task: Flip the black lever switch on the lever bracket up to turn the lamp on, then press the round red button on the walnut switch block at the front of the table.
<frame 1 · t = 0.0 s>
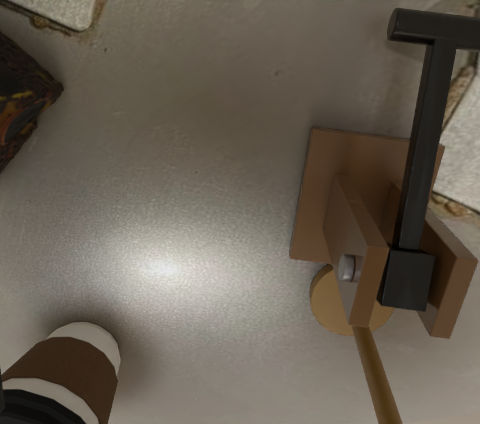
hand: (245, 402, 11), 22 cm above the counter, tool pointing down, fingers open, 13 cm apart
lever bracket: (359, 200, 32), on the counter
lamp: (350, 293, 35), on the counter
lamp switch: (420, 163, 21), point 10 cm above the counter, hinge at -15.0°
coffee cup: (87, 347, 39), on the counter
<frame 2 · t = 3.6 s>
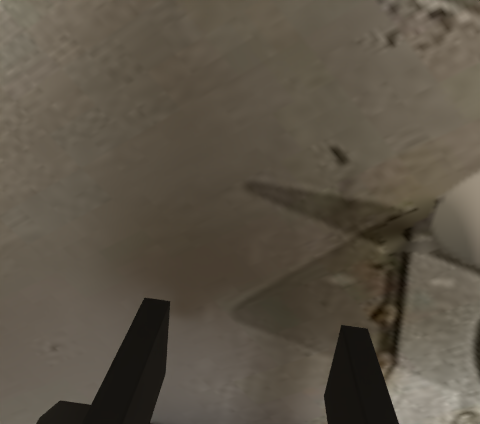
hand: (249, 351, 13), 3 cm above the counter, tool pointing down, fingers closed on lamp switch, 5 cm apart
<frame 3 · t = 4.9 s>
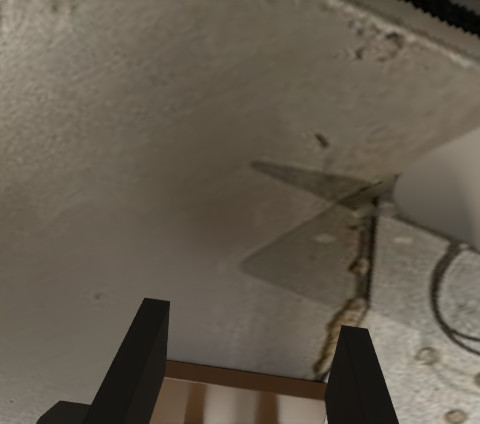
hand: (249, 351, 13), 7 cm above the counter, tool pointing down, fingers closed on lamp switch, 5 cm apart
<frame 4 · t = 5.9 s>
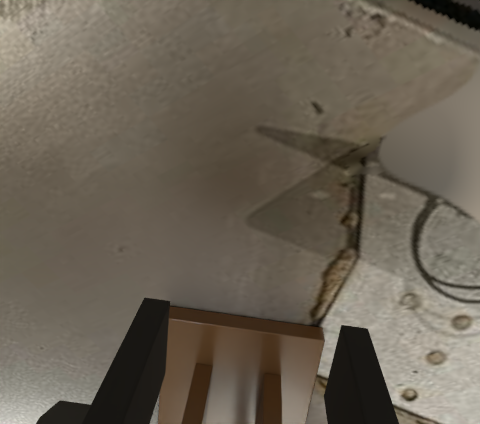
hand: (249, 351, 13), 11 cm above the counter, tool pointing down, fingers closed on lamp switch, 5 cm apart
lever bracket: (235, 383, 27), on the counter
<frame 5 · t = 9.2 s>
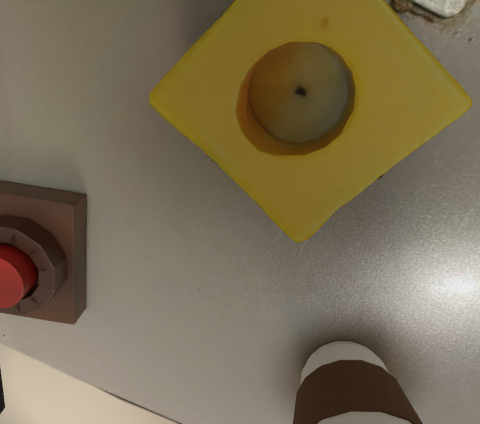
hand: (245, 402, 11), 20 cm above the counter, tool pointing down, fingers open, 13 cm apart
candle: (296, 80, 27), on the counter
switch block: (35, 246, 33), on the counter
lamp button: (1, 276, 29), point 4 cm above the counter, slide at 0.1 cm
coffee cup: (341, 368, 36), on the counter
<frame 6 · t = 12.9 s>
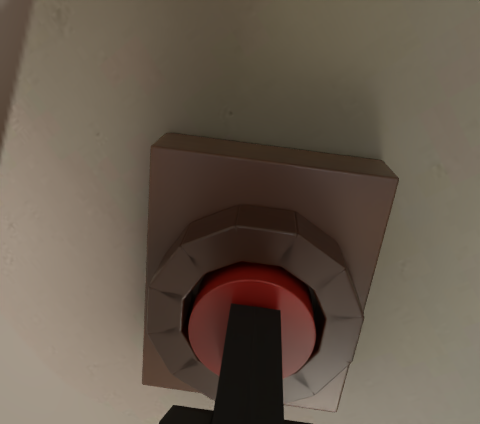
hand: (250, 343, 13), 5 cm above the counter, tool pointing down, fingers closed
switch block: (256, 265, 18), on the counter
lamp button: (252, 318, 14), point 4 cm above the counter, slide at -0.8 cm, touching gripper
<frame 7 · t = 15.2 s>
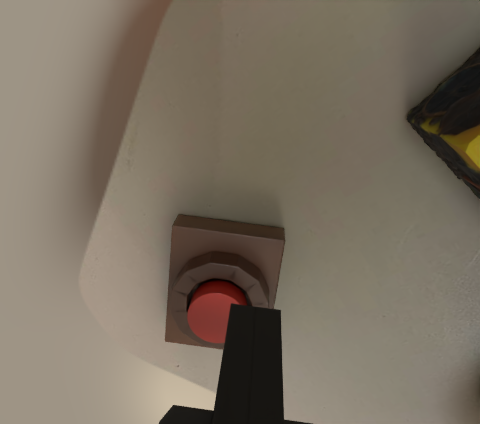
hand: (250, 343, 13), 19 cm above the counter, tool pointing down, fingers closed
switch block: (224, 279, 34), on the counter
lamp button: (217, 311, 30), point 4 cm above the counter, slide at 0.1 cm
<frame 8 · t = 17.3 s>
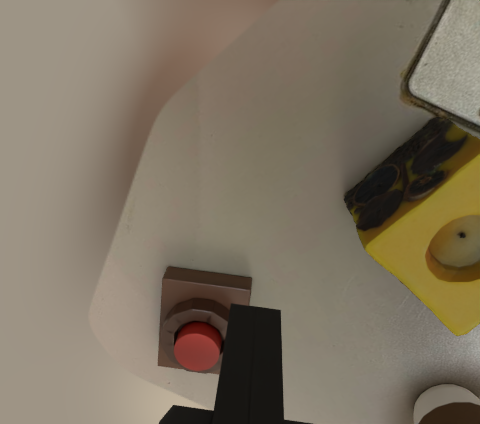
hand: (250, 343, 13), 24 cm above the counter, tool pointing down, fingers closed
candle: (425, 196, 36), on the counter
switch block: (205, 316, 42), on the counter
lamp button: (198, 346, 38), point 4 cm above the counter, slide at 0.1 cm
coffee cup: (443, 405, 45), on the counter
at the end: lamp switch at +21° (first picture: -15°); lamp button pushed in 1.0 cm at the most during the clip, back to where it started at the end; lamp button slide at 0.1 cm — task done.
